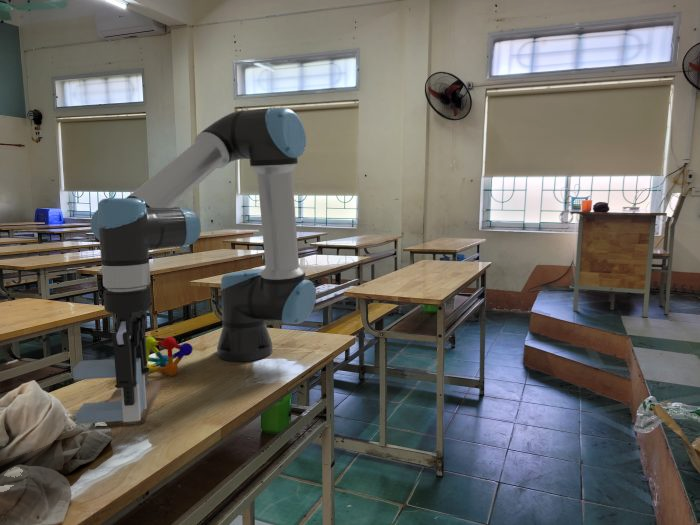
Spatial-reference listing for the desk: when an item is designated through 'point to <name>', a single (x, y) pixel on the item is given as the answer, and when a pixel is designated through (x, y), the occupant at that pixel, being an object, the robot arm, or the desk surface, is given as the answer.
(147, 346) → the molecular model
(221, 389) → the desk surface
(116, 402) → the c link
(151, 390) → the stand
